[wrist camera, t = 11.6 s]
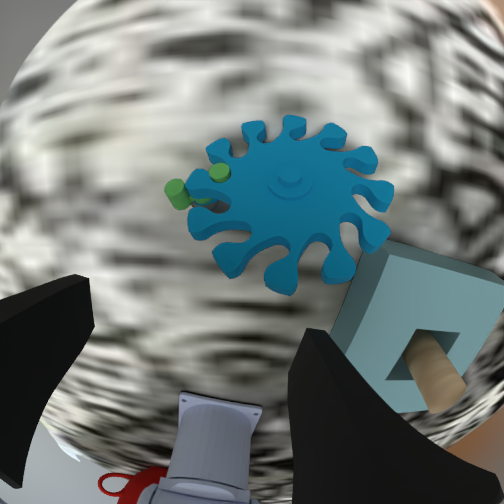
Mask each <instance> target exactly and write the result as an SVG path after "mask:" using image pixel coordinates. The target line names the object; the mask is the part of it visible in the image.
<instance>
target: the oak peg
mask: <svg viewBox="0 0 504 504" xmlns="http://www.w3.org/2000/svg"><path fill="white" fill-rule="evenodd" d="M401 355H402V357H403V359H404V361H405V363H406V365H407V367H408V369H409V371H410V373H411V375H412V377H413V379H414V381H415V383H416V385H417V387H418V389H419V391H420V393H421V395H422V397H423V399H424V401H425V403H426V405H427V407H428V409H429V412H430V413H439V412H441V411H444V410H446V409H447V408H449V407H450V406H452V405H453V404H454V403H456V402H457V401H458V400H459V399H460V398H461V396H462V395H463V394H464V392H465V390H466V384H465V383H464V381H463V380H462V378H461V376H460V375H459V373H458V372H457V370H456V369H455V367H454V366H453V364H452V363H451V361H450V360H449V358H448V357H447V355H446V354H445V352H444V351H443V349H442V348H441V346H440V345H439V344H438V342H437V341H436V339H435V338H434V336H433V335H432V334H431V332H430V331H429V330H425V329H416V330H415V332H414V334H413V335H412V337H411V339H410V341H409V342H408V344H407V346H406V348H405V349H404V351H403V353H402V354H401Z"/></svg>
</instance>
